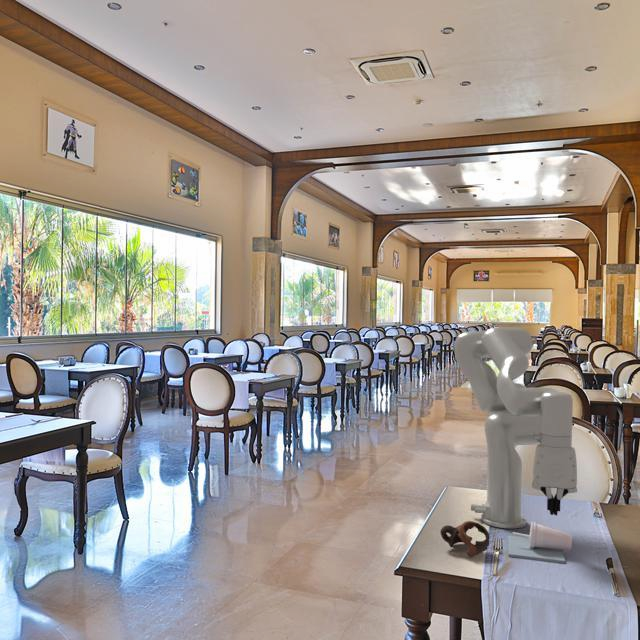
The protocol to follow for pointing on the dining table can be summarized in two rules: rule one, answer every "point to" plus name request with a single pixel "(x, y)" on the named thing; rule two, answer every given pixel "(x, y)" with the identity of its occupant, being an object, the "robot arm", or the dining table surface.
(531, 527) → the smoothie
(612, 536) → the dining table surface
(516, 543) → the mat
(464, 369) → the robot arm
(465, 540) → the brown twisted looped piece
